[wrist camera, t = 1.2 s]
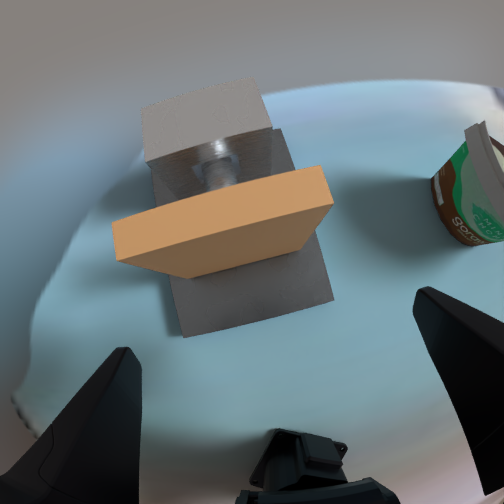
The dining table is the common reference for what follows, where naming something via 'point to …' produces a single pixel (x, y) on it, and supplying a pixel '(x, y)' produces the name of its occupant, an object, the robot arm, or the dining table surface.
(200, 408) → the dining table surface
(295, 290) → the bearing base
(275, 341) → the dining table surface
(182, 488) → the dining table surface
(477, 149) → the food container
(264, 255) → the tan trapezoid block
